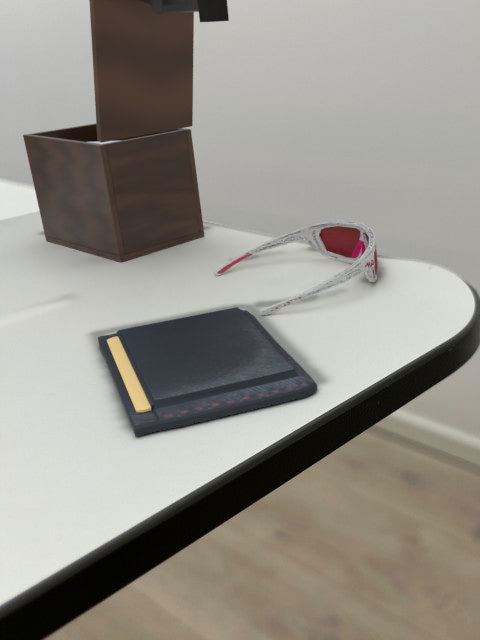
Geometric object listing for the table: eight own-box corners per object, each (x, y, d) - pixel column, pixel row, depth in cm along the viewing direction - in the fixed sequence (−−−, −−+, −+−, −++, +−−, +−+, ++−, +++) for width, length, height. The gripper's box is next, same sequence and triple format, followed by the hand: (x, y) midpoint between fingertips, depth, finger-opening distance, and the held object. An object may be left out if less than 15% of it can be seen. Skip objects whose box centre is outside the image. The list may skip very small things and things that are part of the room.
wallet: (319, 374, 61) (122, 417, 55) (320, 395, 61) (126, 440, 56) (250, 296, 77) (94, 324, 72) (252, 314, 78) (98, 342, 73)
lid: (87, -35, 80) (130, -21, 76) (190, -34, 89) (232, -22, 86) (97, 140, 90) (135, 159, 86) (188, 124, 99) (226, 141, 96)
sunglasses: (411, 284, 84) (403, 241, 81) (271, 343, 78) (259, 299, 76) (340, 246, 98) (332, 209, 95) (217, 294, 92) (205, 256, 89)
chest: (46, 241, 106) (22, 134, 100) (128, 219, 115) (111, 120, 109) (120, 262, 96) (99, 145, 90) (204, 236, 105) (191, 129, 99)
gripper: (108, -253, 71) (147, 23, 81) (198, -287, 64) (229, 22, 74) (172, -238, 77) (201, 20, 87) (263, -268, 69) (283, 19, 79)
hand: (214, 21), depth 80 cm, fingers closed
